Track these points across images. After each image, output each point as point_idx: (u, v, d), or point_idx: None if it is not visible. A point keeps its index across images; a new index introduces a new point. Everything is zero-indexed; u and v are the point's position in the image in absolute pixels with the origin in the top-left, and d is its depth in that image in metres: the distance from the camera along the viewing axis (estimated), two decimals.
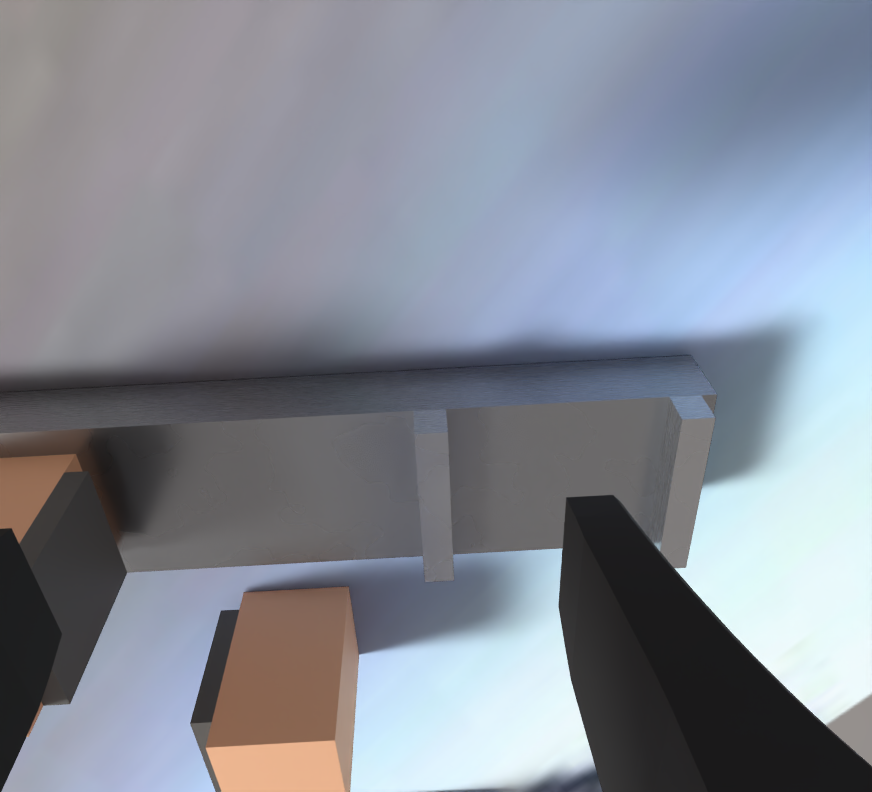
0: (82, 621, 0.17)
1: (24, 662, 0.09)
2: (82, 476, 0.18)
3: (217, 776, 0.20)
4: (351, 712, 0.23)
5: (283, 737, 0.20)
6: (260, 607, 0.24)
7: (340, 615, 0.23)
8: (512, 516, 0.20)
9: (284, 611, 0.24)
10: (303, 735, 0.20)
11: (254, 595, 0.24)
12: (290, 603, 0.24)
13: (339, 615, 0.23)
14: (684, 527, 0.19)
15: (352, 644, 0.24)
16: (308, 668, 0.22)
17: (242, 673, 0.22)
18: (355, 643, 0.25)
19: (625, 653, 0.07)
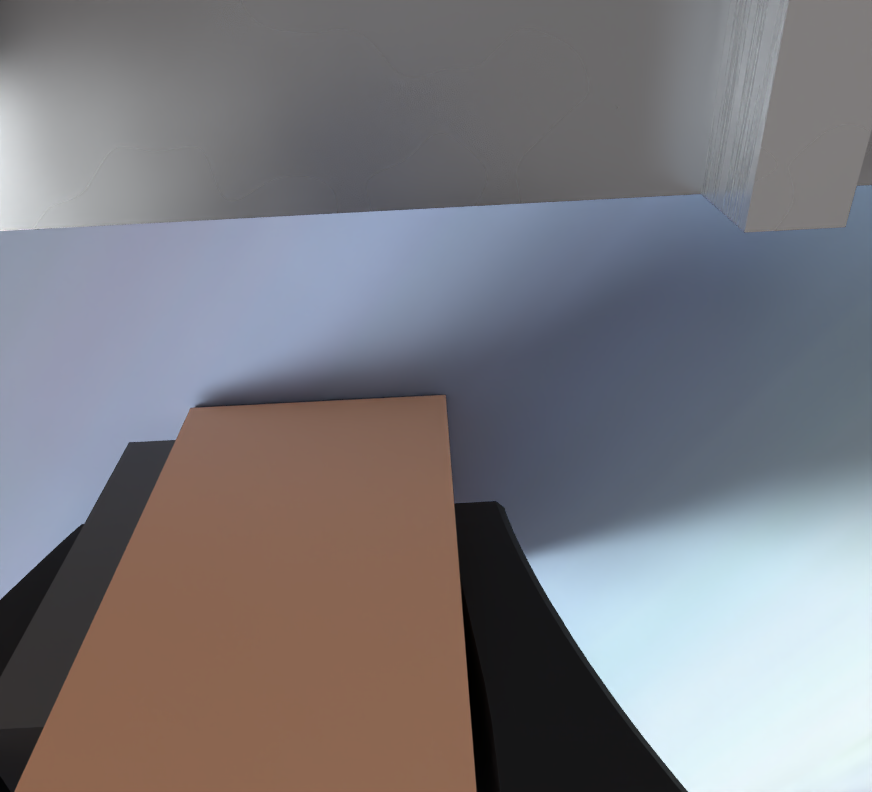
0: None
1: None
2: None
3: None
4: None
5: (288, 783, 0.05)
6: (228, 435, 0.09)
7: (435, 448, 0.09)
8: None
9: (289, 442, 0.09)
10: (360, 778, 0.06)
11: (216, 413, 0.10)
12: (304, 427, 0.09)
13: (431, 448, 0.09)
14: None
15: None
16: (360, 567, 0.07)
17: (165, 581, 0.07)
18: None
19: (474, 662, 0.07)
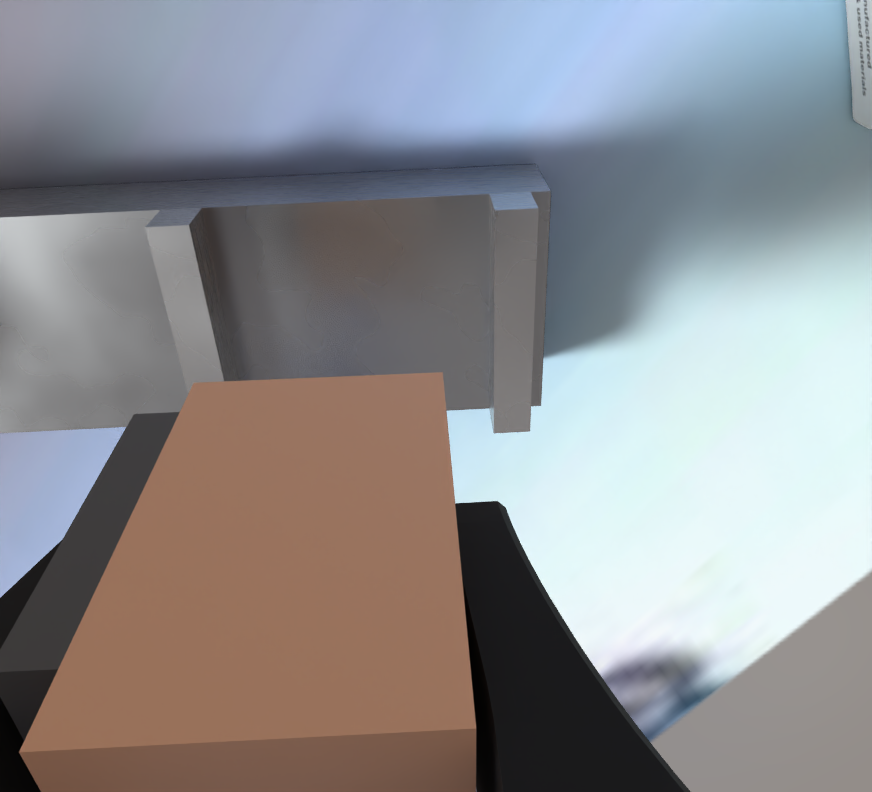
0: None
1: None
2: None
3: None
4: None
5: (295, 718, 0.06)
6: (231, 408, 0.10)
7: (433, 420, 0.09)
8: (314, 367, 0.16)
9: (291, 414, 0.09)
10: (365, 712, 0.06)
11: (218, 388, 0.10)
12: (305, 400, 0.10)
13: (429, 421, 0.09)
14: (520, 373, 0.15)
15: None
16: (362, 528, 0.08)
17: (173, 539, 0.08)
18: None
19: (476, 662, 0.07)
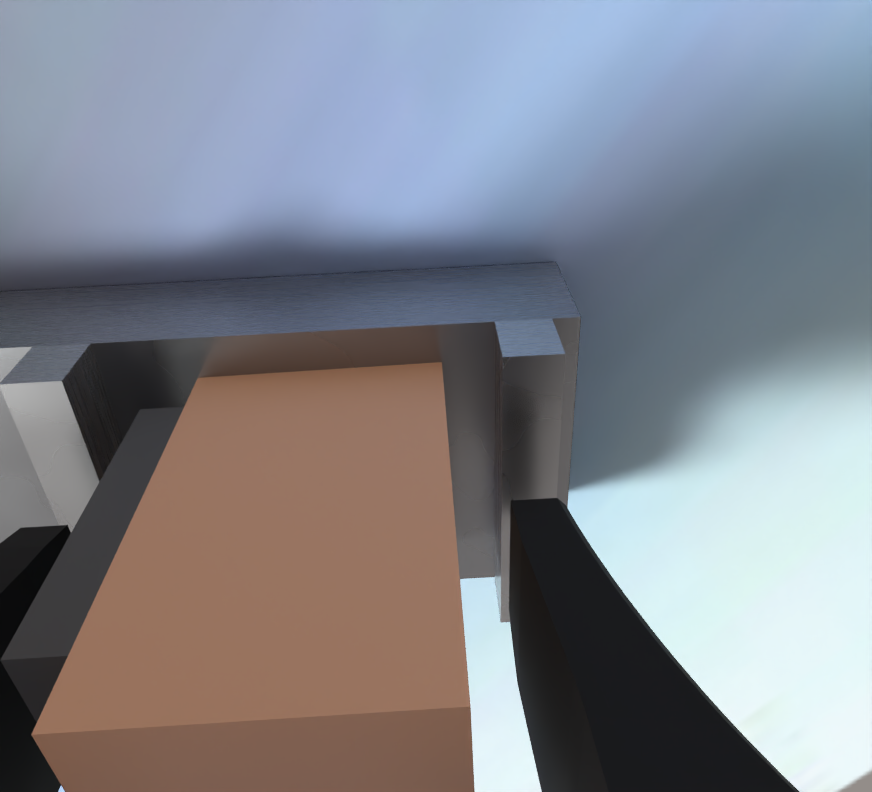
0: None
1: None
2: None
3: None
4: None
5: (294, 698, 0.06)
6: (235, 401, 0.10)
7: (431, 409, 0.09)
8: None
9: (293, 406, 0.10)
10: (363, 693, 0.06)
11: (222, 382, 0.10)
12: (307, 393, 0.10)
13: (428, 410, 0.09)
14: None
15: None
16: (361, 516, 0.08)
17: (178, 530, 0.08)
18: None
19: (554, 657, 0.07)
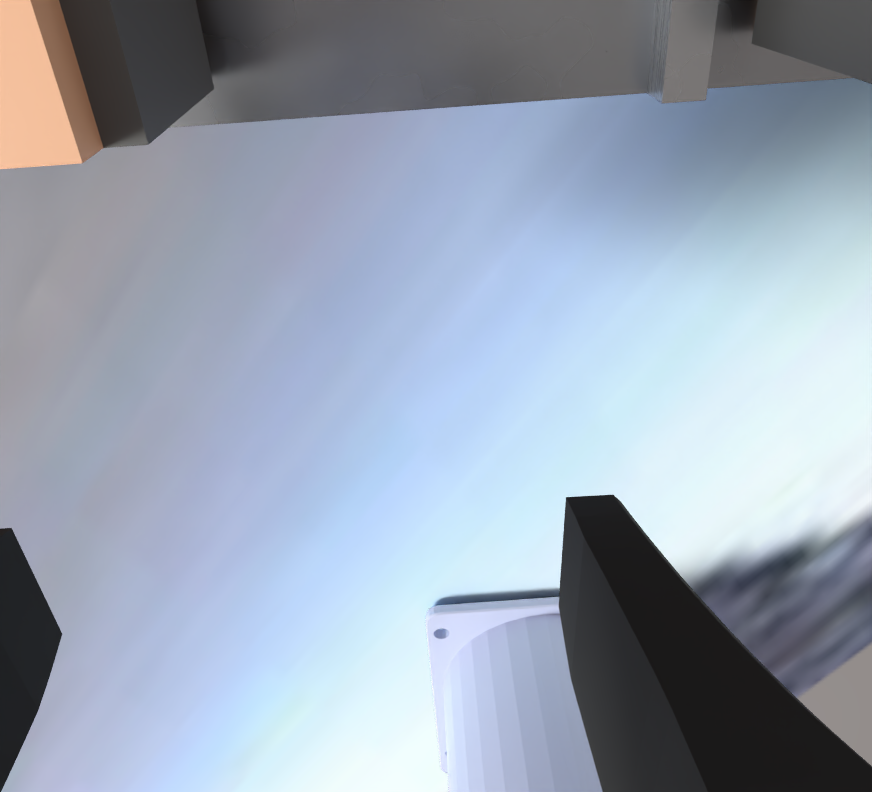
0: (161, 51, 0.10)
1: (24, 662, 0.09)
2: None
3: None
4: None
5: None
6: None
7: None
8: None
9: None
10: None
11: None
12: None
13: None
14: None
15: None
16: None
17: None
18: None
19: (625, 653, 0.07)
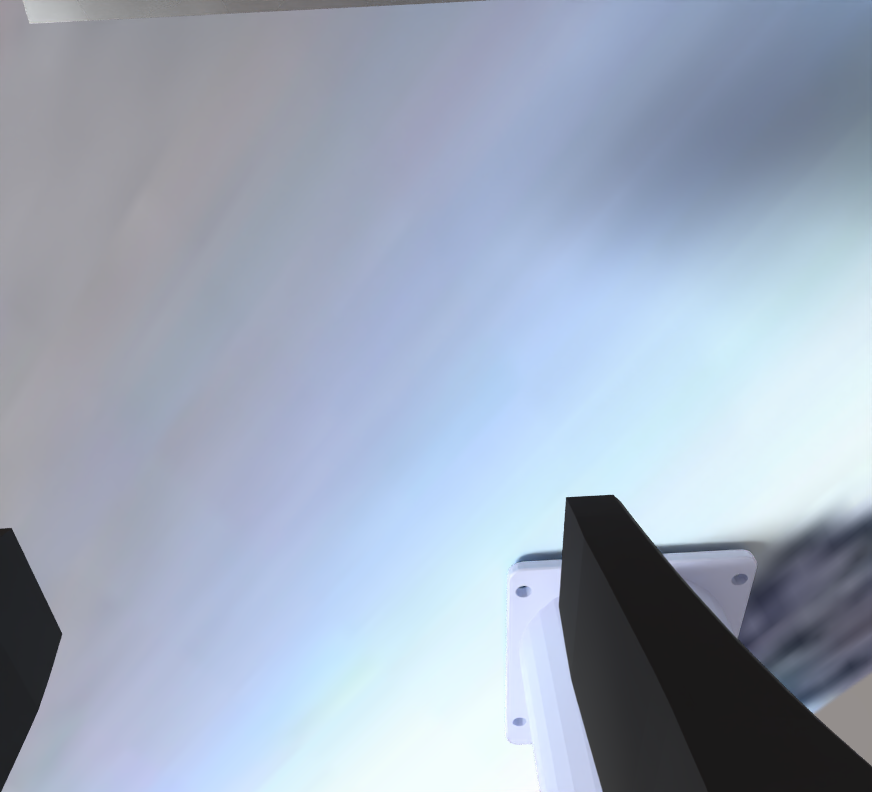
0: None
1: (24, 662, 0.09)
2: None
3: None
4: None
5: None
6: None
7: None
8: None
9: None
10: None
11: None
12: None
13: None
14: None
15: None
16: None
17: None
18: None
19: (625, 653, 0.07)
